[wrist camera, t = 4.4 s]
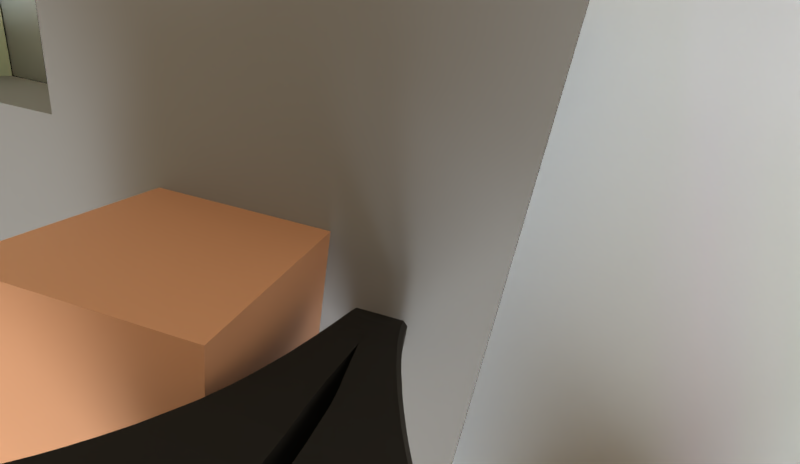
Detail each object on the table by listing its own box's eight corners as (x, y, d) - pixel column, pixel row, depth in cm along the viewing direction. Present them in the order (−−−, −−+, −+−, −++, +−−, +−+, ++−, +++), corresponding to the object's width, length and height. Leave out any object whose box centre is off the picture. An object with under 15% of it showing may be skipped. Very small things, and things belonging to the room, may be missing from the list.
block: (330, 231, 10) (204, 345, 6) (313, 383, 12) (206, 553, 8) (159, 187, 11) (-62, 261, 6) (167, 337, 12) (-4, 470, 8)
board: (572, -1, 10) (639, -74, 5) (436, 481, 16) (403, 670, 11) (-183, -114, 13) (-602, -225, 8) (-56, 318, 19) (-251, 404, 14)
